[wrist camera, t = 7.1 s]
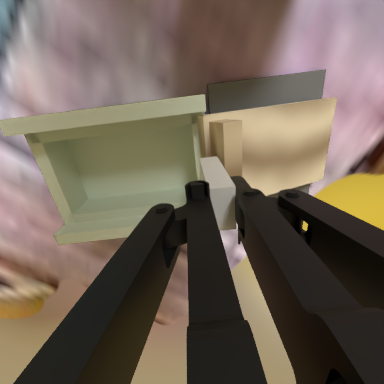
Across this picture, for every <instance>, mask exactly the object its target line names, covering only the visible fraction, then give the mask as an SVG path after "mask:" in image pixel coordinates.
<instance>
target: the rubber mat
mask: <svg viewBox="0 0 384 384" xmlns="http://www.w3.org/2000/svg"><path fill="white" fill-rule="evenodd" d="M325 73H326V70H318V71H310V72H302V73H294V74H286V75H279V76H271V77H263V78H255V79H247V80H239V81H232V82H224V83H216V84H208V97H209V111H210V114H214V113H222V112H229V111H236V110H244V109H251V108H258V107H266V106H273V105H280V104H288V103H295V102H302V101H309V100H317V99H322V94H323V87H324V80H325ZM309 186H310V183H309V184H305V185H302V186H298V187H295V188H291V189H295V190H300V191H303V192H305V193H307V194H308V193H309ZM278 193H279V192H278ZM278 193H274V194H271V195H267V196H266V197H278Z"/></svg>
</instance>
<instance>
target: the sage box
mask: <svg viewBox="0 0 384 384" xmlns="http://www.w3.org/2000/svg"><path fill="white" fill-rule="evenodd" d="M204 111H206V102H205V94H201V95H193V96H185V97H177V98H170V99H162V100H154V101H146V102H138V103H130V104H122V105H114V106H107V107H99V108H91V109H83V110H75V111H67V112H59V113H51V114H44V115H36V116H28V117H20V118H12V119H4V120H0V128H1V130H2V132H3V134H4V136H12V135H20V134H24V135H25V137H26V140H27V142H28V144H29V146H30V148H31V151H32V153H33V155H34V157H35V160H36V162H37V164H38V166H39V168H40V171H41V173H42V175H43V177H44V179H45V182H46V184H47V186H48V188H49V190H50V193H51V195H52V197H53V199H54V202H55V204H56V206H57V208H58V210H59V213H60V215H61V217H62V219H63V221H64V225H63V226H62V227H61V228H60V230H59V231H58V232H57V233H56V234H55V235H54V237H55V239H56V241H57V244H58V245H64V244H73V243H81V242H90V241H99V240H108V239H116V238H125V237H128V236H129V235H130V234H131V232H132V231H133V230H134V229H135V227H136V226H137V225H138V223H139V222H140V221H141V220H142V218H143V217H144V216H145V215H146V213H147V212H148V211H149V209H150V208H152V207H153V206H155V205H157V204H160V203H168V204H172V205H173V206H174V209H176V208H179V207H181V206H183V205H185V204H186V193H185V184H187V183H189V182H191V181H198V180H201V170H200V159H199V158H201V149H200V138H199V127H198V116H200V115H204Z"/></svg>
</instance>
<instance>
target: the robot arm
mask: <svg viewBox="0 0 384 384" xmlns="http://www.w3.org/2000/svg"><path fill="white" fill-rule="evenodd" d="M199 159H200V170H201V180H198V181H191V182H189V183H187V184H185V193H186V204H185V205H183V206H181V207H179V208H176V209H174V206H173V205H172V204H168V203H160V204H157V205H155V206H153V207H152V208H150V209H149V211H148V212H147V213H146V215H145V216H144V217H143V218H142V220H141V221H140V222H139V223H138V225H137V226H136V227H135V229H134V230H133V231H132V232H131V234H130V235H129V236H128V238H127V239H126V240H125V241H124V243H123V244H122V245H121V247H120V248H119V249H118V250H117V252H116V253H115V254H114V255H113V257H112V258H111V259H110V261H109V262H108V263H107V264H106V266H105V267H104V268H103V270H102V271H101V272H100V273H99V275H98V276H97V277H96V278H95V280H94V281H93V282H92V284H91V285H90V286H89V287H88V289H87V290H86V291H85V293H84V294H83V295H82V297H81V298H80V299H79V300H78V302H77V303H76V304H75V306H74V307H73V308H72V309H71V311H70V312H69V313H68V314H67V316H66V317H65V318H64V320H63V321H62V322H61V323H60V325H59V326H58V327H57V329H56V330H55V331H54V332H53V333H52V335H51V336H50V337H49V339H48V340H47V341H46V342H45V344H44V345H43V346H42V348H41V349H40V350H39V351H38V353H37V354H36V355H35V357H34V358H33V359H32V360H31V362H30V363H29V364H28V365H27V367H26V368H25V369H24V371H23V372H22V373H21V375H20V376H19V377H18V378H17V380H16V381H15V382H14V383H13V384H130V383H131V380H132V378H133V375H134V372H135V370H136V367H137V364H138V362H139V359H140V356H141V354H142V351H143V348H144V346H145V343H146V340H147V338H148V335H149V332H150V330H151V327H152V324H153V322H154V319H155V316H156V314H157V311H158V308H159V305H160V303H161V300H162V297H163V295H164V292H165V289H166V287H167V284H168V281H169V279H170V276H171V273H172V271H173V268H174V265H175V263H176V260H177V257H178V255H179V252H180V245H183V244H185V243H187V252H188V300H189V326H188V327H187V384H267V381H266V378H265V374H264V371H263V367H262V364H261V361H260V357H259V354H258V350H257V347H256V344H255V340H254V337H253V334H252V331H251V328H250V325H249V323H248V321H247V320H244V318H243V315H242V311H241V308H240V304H239V300H238V297H237V293H236V290H235V286H234V282H233V279H232V275H231V271H230V268H229V264H228V260H227V257H226V253H225V249H224V246H223V242H222V239H221V235H220V230H229V229H236V222H237V224H238V244H240V241H241V242H242V244H243V246H244V249H245V251H246V254H247V256H248V259H249V261H250V264H251V266H252V269H253V271H254V273H255V276H256V279H257V281H258V283H259V286H260V288H261V290H262V293H263V296H264V298H265V300H266V303H267V305H268V308H269V310H270V313H271V316H272V318H273V320H274V323H275V325H276V328H277V330H278V333H279V335H280V338H281V340H282V342H283V345H284V348H285V350H286V352H287V355H288V357H289V360H290V362H291V365H292V367H293V370H294V374H295V378H296V384H384V231H383V230H381V229H379V228H377V227H375V226H373V225H371V224H369V223H367V222H365V221H363V220H361V219H358V218H356V217H354V216H352V215H350V214H348V213H346V212H344V211H342V210H340V209H338V208H336V207H334V206H332V205H330V204H328V203H325V202H323V201H321V200H319V199H317V198H315V197H313V196H311V195H309V194H307V193H305V192H303V191H300V190H295V189H284V190H281V191H279V193H278V197H266V196H265V195H264V194H263V192H262V191H260V190H258V189H254V188H251V186H250V185H249V184H248V183H247V181H246V180H245V179H244V178H243V177H241V176H232V177H230V176H229V175H228V173H227V172H226V170H225V168H224V167H223V165H222V163H221V162H220V160H219V158H218V157H217V156H215V157H206V158H199ZM303 221H305V222H306V223H308V228H307V231H305V230H303V229H302V225H303Z"/></svg>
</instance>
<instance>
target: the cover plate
mask: <svg viewBox="0 0 384 384" xmlns="http://www.w3.org/2000/svg"><path fill="white" fill-rule="evenodd" d="M336 101H337V98H324V99H317V100H309V101H302V102H295V103H288V104H280V105H273V106H266V107H258V108H251V109H244V110H236V111H229V112H222V113H214V114H207V115H200V116H198V127H199V138H200V149H201V158H206V157H215V156H217V157H218V158H219V160H220V162H221V163H222V165H223V167H224V168H225V170H226V172H227V173H228V175H229V176H230V177H232V176H241V177H243V178H244V179H245V180H246V181H247V183H248V184H249V185H250V186H251V188H254V189H258V190H260V191H262V192H263V194H264V195H265V196H267V195H271V194H274V193H278V192H279V191H281V190H284V189H291V188H295V187H298V186H302V185H305V184H309V183H312V182H316V181H319V180H322V179H323V175H324V169H325V163H326V158H327V152H328V146H329V141H330V135H331V129H332V124H333V118H334V112H335V106H336Z"/></svg>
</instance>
